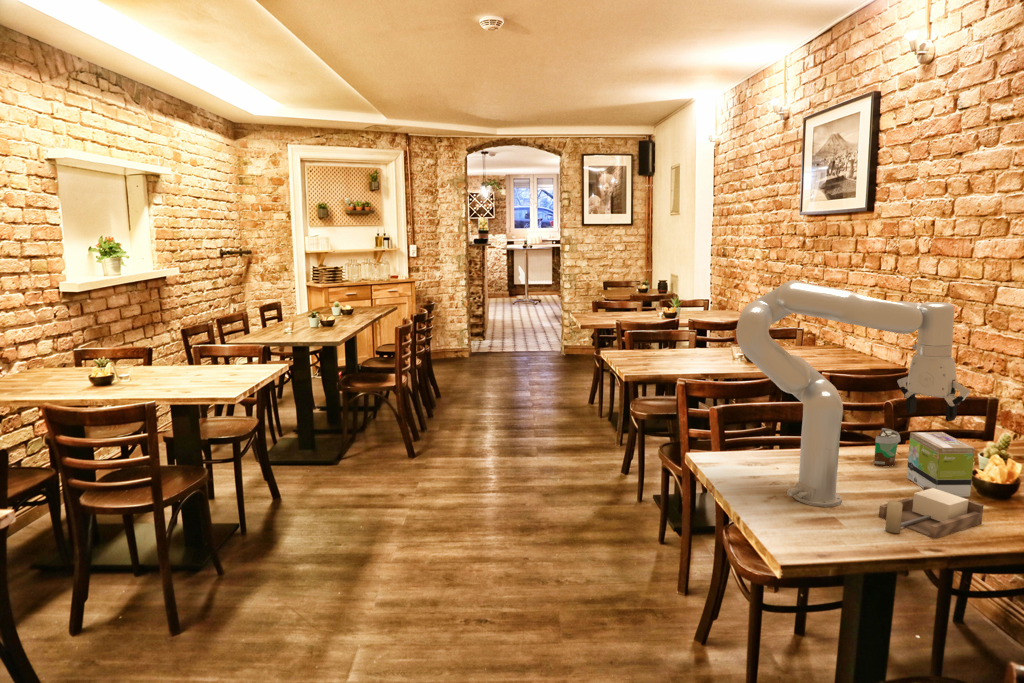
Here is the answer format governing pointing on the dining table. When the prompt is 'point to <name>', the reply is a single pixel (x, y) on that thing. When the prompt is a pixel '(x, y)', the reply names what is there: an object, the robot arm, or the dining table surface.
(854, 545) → the dining table surface
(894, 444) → the food container
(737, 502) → the dining table surface
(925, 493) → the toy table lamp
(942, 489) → the tea box
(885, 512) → the wooden frame
